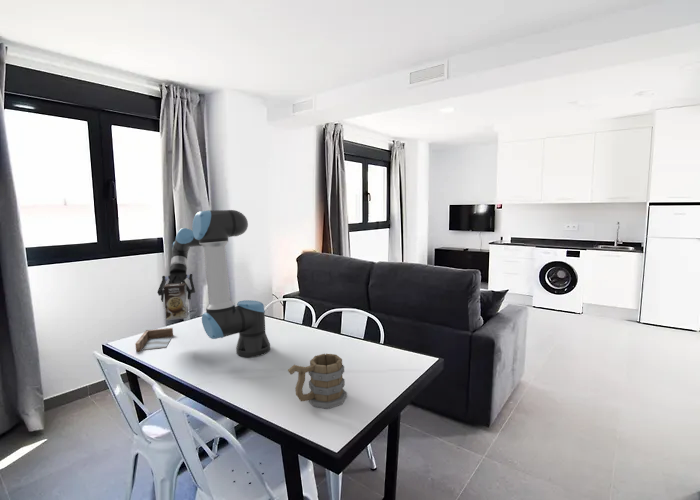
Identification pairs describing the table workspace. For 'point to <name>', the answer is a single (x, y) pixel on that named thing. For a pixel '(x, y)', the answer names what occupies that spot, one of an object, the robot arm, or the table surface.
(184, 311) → the coffee box
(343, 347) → the table surface
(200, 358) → the table surface
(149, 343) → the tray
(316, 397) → the tankard
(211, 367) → the table surface
